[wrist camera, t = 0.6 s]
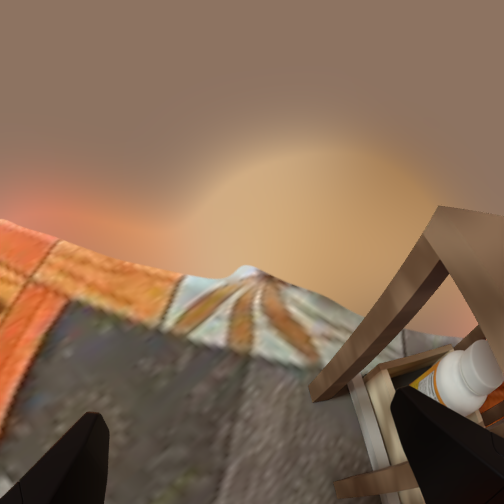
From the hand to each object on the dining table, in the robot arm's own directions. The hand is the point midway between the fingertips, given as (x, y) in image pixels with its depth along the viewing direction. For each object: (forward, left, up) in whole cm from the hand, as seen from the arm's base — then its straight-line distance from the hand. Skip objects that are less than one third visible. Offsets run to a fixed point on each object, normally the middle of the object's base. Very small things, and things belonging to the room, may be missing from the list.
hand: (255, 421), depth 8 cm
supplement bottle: (0, -17, -14) cm, 23 cm away
